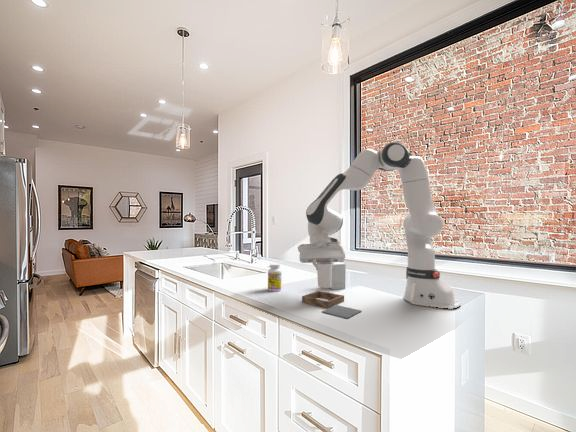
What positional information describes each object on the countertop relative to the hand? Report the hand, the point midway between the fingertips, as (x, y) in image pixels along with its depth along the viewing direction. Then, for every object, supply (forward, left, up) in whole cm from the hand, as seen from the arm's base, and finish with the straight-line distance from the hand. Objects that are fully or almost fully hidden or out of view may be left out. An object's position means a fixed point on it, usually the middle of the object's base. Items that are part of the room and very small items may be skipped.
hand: (324, 269), depth 130 cm
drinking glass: (0, -1, -7) cm, 8 cm away
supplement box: (+10, -26, -14) cm, 31 cm away
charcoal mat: (-12, +7, -14) cm, 20 cm away
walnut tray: (+1, 0, -14) cm, 14 cm away
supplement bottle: (+30, -1, -14) cm, 33 cm away
